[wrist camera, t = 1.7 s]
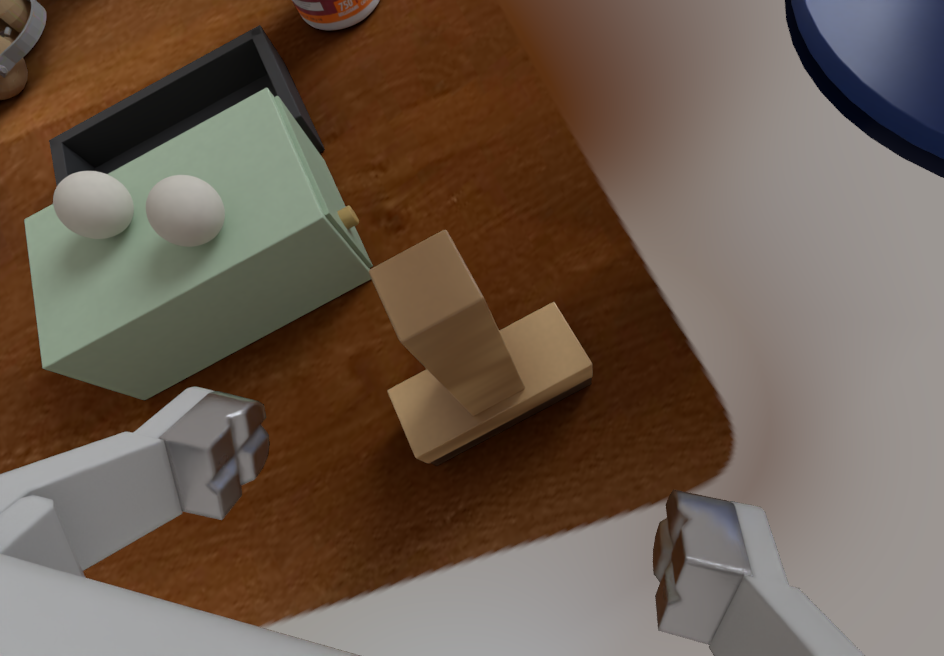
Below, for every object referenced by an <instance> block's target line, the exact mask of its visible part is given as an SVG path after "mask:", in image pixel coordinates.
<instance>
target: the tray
mask: <svg viewBox="0 0 944 656" xmlns="http://www.w3.org/2000/svg"><path fill="white" fill-rule="evenodd" d="M265 88H268V89H269V90H270V92H271V93H272V94H273V96H274V97H276V96H279V97H280V99H281V100H282V102H283V103H284V105H285V106H286V107H287V109H288V110H289V112H290V113H291V114H292V116H293V117H294V119H295V120H296V121H297V123H298V124H299V126H300V127H301V128H302V130H303V131H304V133H305V134H306V135H307V137H308V138H309V140H310V141H311V142H312V144H313V145H314V147H315V148H316V149H317V151H318V152H319V153H320V152H322V151H324V150H325V149H324V147H323V144H322V142H321V140H320V138H319V136H318V134H317V131H316V129H315V127H314V125H313V123H312V121H311V119H310V116H309V114H308V112H307V110H306V108H305V106H304V103H303V101H302V99H301V97H300V95H299V93H298V91H297V88H296V86H295V84H294V82H293V80H292V78H291V76H290V73H289V71H288V69H287V67H286V65H285V63H284V61H283V60H282V58H281V57H280V55H279V53H278V52H277V50H276V49H275V47H274V46H273V44H272V43H271V41H270V40H269V38H268V37H267V35H266V33H265V32H264V30H263V29H262V27H261V26H260V25H259V26H257V27H256V28H254V29H252V30H250V31H248V32H246V33H245V34H243V35H241V36H239V37H237V38H235V39H234V40H232V41H230V42H228V43H226V44H224V45H223V46H221V47H219V48H217V49H215V50H214V51H212V52H210V53H208V54H206V55H204V56H203V57H201V58H199V59H197V60H195V61H193V62H192V63H190V64H188V65H186V66H184V67H182V68H181V69H179V70H177V71H175V72H173V73H171V74H170V75H168V76H166V77H164V78H162V79H161V80H159V81H157V82H155V83H153V84H151V85H150V86H148V87H146V88H144V89H142V90H140V91H139V92H137V93H135V94H133V95H131V96H129V97H128V98H126V99H124V100H122V101H120V102H118V103H117V104H115V105H113V106H111V107H109V108H108V109H106V110H104V111H102V112H100V113H98V114H97V115H95V116H93V117H91V118H89V119H87V120H86V121H84V122H82V123H80V124H78V125H76V126H75V127H73V128H71V129H69V130H67V131H65V132H64V133H62V134H60V135H58V136H56V137H55V138H53V139H51V140H49V142H50V148H51V154H52V160H53V166H54V172H55V178H56V184H57V186H58V184H59V183H60V182H61V181H62V180H63V179H64V178H66V177H67V176H69V175H71V174H73V173H76V172H80V171H97V172H101V173H105V174H109V173H111V172H112V171H114V170H116V169H118V168H120V167H122V166H123V165H125V164H127V163H129V162H131V161H133V160H134V159H136V158H138V157H140V156H142V155H144V154H145V153H147V152H149V151H151V150H153V149H155V148H156V147H158V146H160V145H162V144H164V143H166V142H167V141H169V140H171V139H173V138H175V137H177V136H178V135H180V134H182V133H184V132H186V131H188V130H189V129H191V128H193V127H195V126H197V125H199V124H201V123H202V122H204V121H206V120H208V119H210V118H212V117H213V116H215V115H217V114H219V113H221V112H223V111H224V110H226V109H228V108H230V107H232V106H234V105H235V104H237V103H239V102H241V101H243V100H245V99H246V98H248V97H250V96H252V95H254V94H256V93H257V92H259V91H261V90H263V89H265Z"/></svg>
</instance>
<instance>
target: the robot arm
mask: <svg viewBox="0 0 944 656" xmlns="http://www.w3.org/2000/svg"><path fill="white" fill-rule="evenodd" d="M265 419H266V413H265V407H264V404H262V403H261V402H259V401H256V400H252V399H248V398H244V397H240V396H235V395H231V394H227V393H223V392H219V391H212V390H208V389H204V388H200V387H196V386H194V387H190V388H187V389H185V390H184V391H183V392H182V393H181V394H179V395H178V396H177V397H176V398H174V399H173V400H172V401H171V402H170V403H168V404H167V405H166V406H165V407H164V408H162V409H161V410H160V411H159V412H158V413H156V414H155V415H154V416H153V417H152V418H150V419H149V420H148V421H147V422H145V423H144V424H143V425H142V426H141V427H139V428H138V429H137V430H136V431H135V432H133V433H131V432H123V433H120V434H117V435H114V436H111V437H108V438H105V439H102V440H99V441H96V442H93V443H90V444H88V445H85V446H82V447H79V448H76V449H73V450H70V451H67V452H64V453H61V454H58V455H55V456H52V457H49V458H46V459H44V460H41V461H38V462H35V463H32V464H29V465H26V466H23V467H20V468H17V469H14V470H11V471H8V472H5V473H2V474H0V656H360V655H356V654H353V653H349V652H346V651H342V650H339V649H335V648H332V647H328V646H325V645H321V644H317V643H314V642H310V641H307V640H303V639H299V638H296V637H293V636H289V635H286V634H282V633H279V632H275V631H272V630H268V629H265V628H261V627H258V626H254V625H251V624H247V623H244V622H240V621H237V620H233V619H229V618H226V617H222V616H219V615H215V614H212V613H208V612H205V611H201V610H198V609H194V608H191V607H187V606H184V605H180V604H177V603H173V602H169V601H166V600H162V599H159V598H155V597H152V596H148V595H145V594H141V593H138V592H134V591H131V590H127V589H124V588H120V587H117V586H113V585H109V584H106V583H102V582H99V581H95V580H92V579H88V578H85V576H84V573H83V570H85V569H87V568H89V567H90V566H92V565H94V564H96V563H97V562H99V561H101V560H103V559H104V558H106V557H108V556H109V555H111V554H113V553H115V552H116V551H118V550H120V549H122V548H123V547H125V546H127V545H129V544H130V543H132V542H134V541H135V540H137V539H139V538H141V537H142V536H144V535H146V534H148V533H149V532H151V531H153V530H155V529H156V528H158V527H160V526H161V525H163V524H165V523H167V522H168V521H170V520H172V519H174V518H175V517H177V516H179V515H180V514H182V511H184V512H188V513H193V514H197V515H202V516H206V517H211V518H215V519H220V520H222V519H223V518H224V517H225V516H226V514H227V513H228V512H229V511H230V509H231V508H232V507H233V506H234V504H235V503H236V502H237V501H238V499H239V498H240V497H241V496H242V487H241V485H243V484H245V483H248V482H250V481H252V480H254V479H255V478H256V477H257V476H258V474H259V473H260V472H261V470H262V469H263V467H264V465H265V462H266V460H267V457H268V454H269V446H270V442H269V435H268V433H267V432H266V431H265V429H264V428H263V427H262V426H261V423H262V422H263V421H264V420H265ZM666 511H667V518H666V519H665V520H663V521H661V522H660V523H659V526H658V529H657V533H656V536H655V542H654V549H653V571H654V575H655V576H656V578H657V579H658V580H659V582H660V585H659V587H658V590H657V593H656V596H655V597H656V608H657V621H658V630H659V631H662V632H666V633H669V634H673V635H676V636H680V637H683V638H687V639H691V640H694V641H698V642H702V643H705V644H708V645H710V646H709V648H710V650H711V652H712V653H713V655H714V656H865V655H864V654H863V653H862V652H861V651H860V650H859V649H858V648H857V647H856V646H855V645H854V644H853V643H852V642H851V641H850V640H849V639H848V638H847V637H846V636H845V635H844V634H843V633H842V632H841V631H840V630H839V629H838V627H837V626H836V625H835V624H834V623H832V621H831V620H830V619H829V618H828V617H827V616H826V615H825V614H824V613H823V612H822V611H821V610H820V609H819V608H818V607H817V606H816V605H815V604H814V603H813V602H812V601H811V600H810V599H809V598H808V597H807V596H806V595H805V594H804V593H803V592H802V591H801V590H800V589H799V588H797V587H793V586H789V583H788V581H787V577H786V574H785V571H784V568H783V565H782V562H781V559H780V556H779V553H778V550H777V547H776V544H775V541H774V538H773V535H772V532H771V529H770V526H769V523H768V520H767V516H766V514H765V511H764V510H763V509H762V508H761V507H758V506H754V505H748V504H743V503H738V502H733V501H731V502H729V501H726V500H721V499H716V498H711V497H706V496H702V495H697V494H692V493H687V492H682V491H678V490H673V491H672V492H671V493H670V495H669V498H668V500H667V503H666Z"/></svg>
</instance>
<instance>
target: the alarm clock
mask: <svg viewBox="0 0 944 656" xmlns="http://www.w3.org/2000/svg"><path fill="white" fill-rule="evenodd" d="M45 24H46V11H45V9H44V7H42V6H41V5H40V4H39V3H38V2H37V1H36V0H0V100H4V99H8V98H11V97H13V96H16V95H18V94H19V93H20V92H21V91H22V90H23V89H24V87H25V84H26V82H27V76H28V70H27V66H26V63H25V60H24V58H23V57H24V56H25V55H26V54H27V53H28V52H29V51H30V50H31V49H32V48H33V46H34V45H35V44H36V42H37V41H38V39H39V38H40V36H41V34H42V32H43V29H44V27H45Z"/></svg>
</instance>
